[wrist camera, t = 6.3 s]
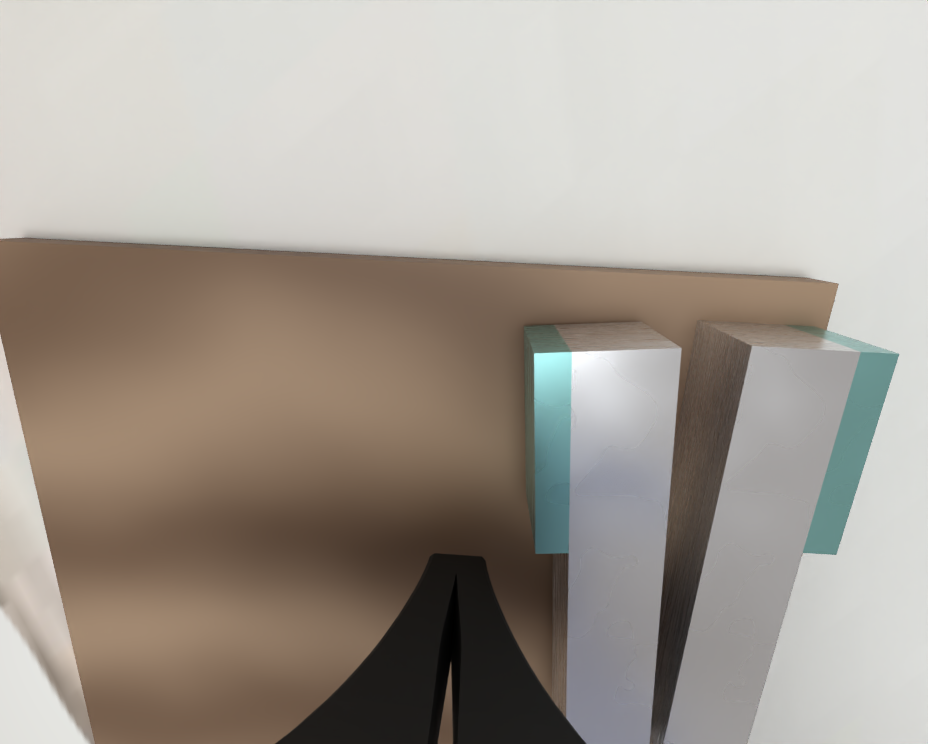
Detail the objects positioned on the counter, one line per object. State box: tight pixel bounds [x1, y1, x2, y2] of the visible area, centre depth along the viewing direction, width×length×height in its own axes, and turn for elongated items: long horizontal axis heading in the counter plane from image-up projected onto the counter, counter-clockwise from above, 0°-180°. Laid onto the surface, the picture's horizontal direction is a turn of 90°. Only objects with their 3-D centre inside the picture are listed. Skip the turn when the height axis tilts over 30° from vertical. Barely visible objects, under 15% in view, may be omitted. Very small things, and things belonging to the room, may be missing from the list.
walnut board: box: [0, 238, 838, 744], centre depth 15 cm, size 17×20×1 cm
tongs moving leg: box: [524, 321, 682, 744], centre depth 12 cm, size 13×3×2 cm, turn 3°
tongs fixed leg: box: [649, 320, 899, 744], centre depth 13 cm, size 16×4×3 cm, turn 177°
